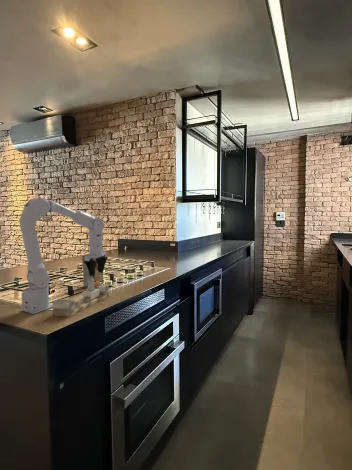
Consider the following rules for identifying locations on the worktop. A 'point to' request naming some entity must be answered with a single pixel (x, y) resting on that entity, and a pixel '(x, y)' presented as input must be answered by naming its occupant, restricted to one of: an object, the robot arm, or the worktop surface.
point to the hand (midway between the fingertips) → (96, 274)
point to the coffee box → (87, 276)
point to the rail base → (78, 303)
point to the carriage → (91, 290)
